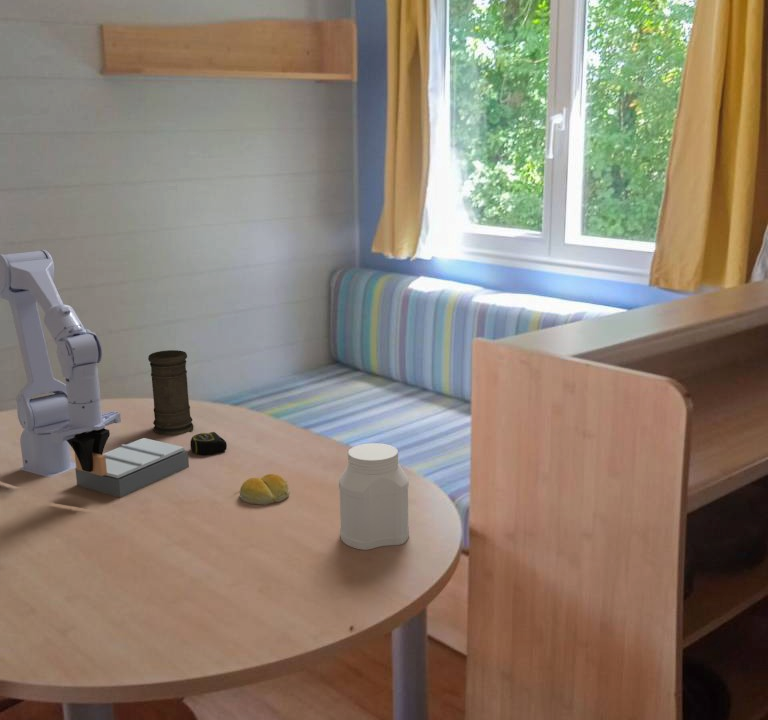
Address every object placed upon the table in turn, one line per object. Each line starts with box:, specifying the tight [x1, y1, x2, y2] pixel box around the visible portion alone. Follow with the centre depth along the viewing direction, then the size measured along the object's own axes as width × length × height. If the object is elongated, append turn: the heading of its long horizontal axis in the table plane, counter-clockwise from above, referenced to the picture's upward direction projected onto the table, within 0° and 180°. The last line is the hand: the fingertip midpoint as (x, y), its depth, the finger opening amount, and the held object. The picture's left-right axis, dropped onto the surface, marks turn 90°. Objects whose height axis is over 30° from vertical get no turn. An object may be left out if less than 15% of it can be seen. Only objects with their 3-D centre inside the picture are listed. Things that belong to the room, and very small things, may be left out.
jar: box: [338, 442, 410, 551], centre depth 155 cm, size 12×10×15 cm
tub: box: [74, 449, 190, 498], centre depth 184 cm, size 12×18×4 cm, turn 148°
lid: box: [74, 437, 185, 478], centre depth 182 cm, size 11×19×4 cm, turn 148°
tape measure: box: [189, 431, 227, 456], centre depth 197 cm, size 7×7×4 cm
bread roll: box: [239, 473, 291, 506], centre depth 174 cm, size 8×9×4 cm
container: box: [147, 349, 195, 436], centre depth 210 cm, size 9×9×18 cm
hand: (91, 469), depth 174 cm, fingers closed on lid
